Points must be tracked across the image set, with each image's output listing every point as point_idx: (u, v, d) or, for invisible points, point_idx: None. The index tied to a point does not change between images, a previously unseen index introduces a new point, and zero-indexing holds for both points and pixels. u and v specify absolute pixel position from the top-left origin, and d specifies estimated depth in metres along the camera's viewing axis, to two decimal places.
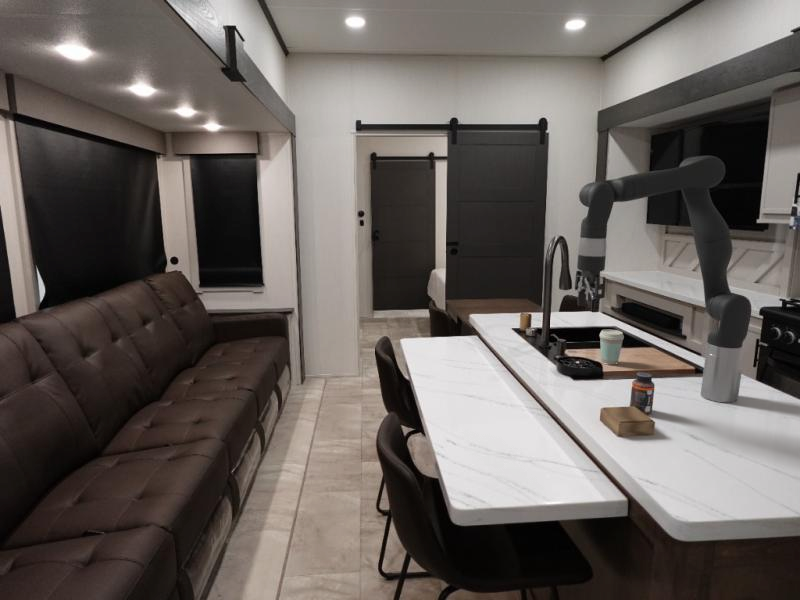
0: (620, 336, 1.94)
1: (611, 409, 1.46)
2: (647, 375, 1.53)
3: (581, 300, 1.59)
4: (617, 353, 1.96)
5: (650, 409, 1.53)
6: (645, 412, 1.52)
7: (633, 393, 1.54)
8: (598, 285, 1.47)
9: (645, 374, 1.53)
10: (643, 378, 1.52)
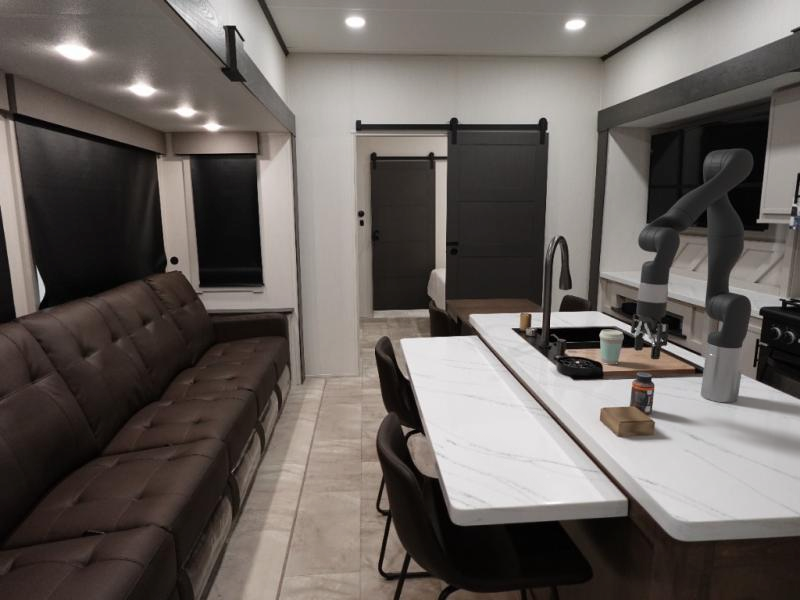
0: (620, 336, 1.94)
1: (611, 409, 1.46)
2: (647, 375, 1.52)
3: (638, 344, 1.55)
4: (617, 353, 1.96)
5: (650, 409, 1.53)
6: (645, 412, 1.52)
7: (633, 393, 1.54)
8: (661, 333, 1.44)
9: (645, 374, 1.53)
10: (643, 378, 1.52)
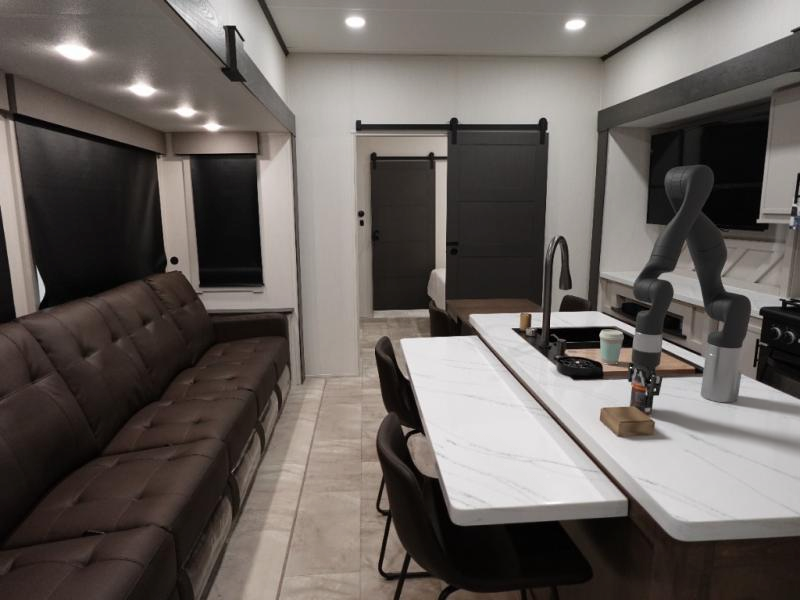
0: (620, 336, 1.94)
1: (611, 409, 1.46)
2: None
3: None
4: (617, 353, 1.96)
5: (650, 409, 1.53)
6: (645, 412, 1.52)
7: (633, 393, 1.54)
8: (654, 384, 1.47)
9: None
10: None
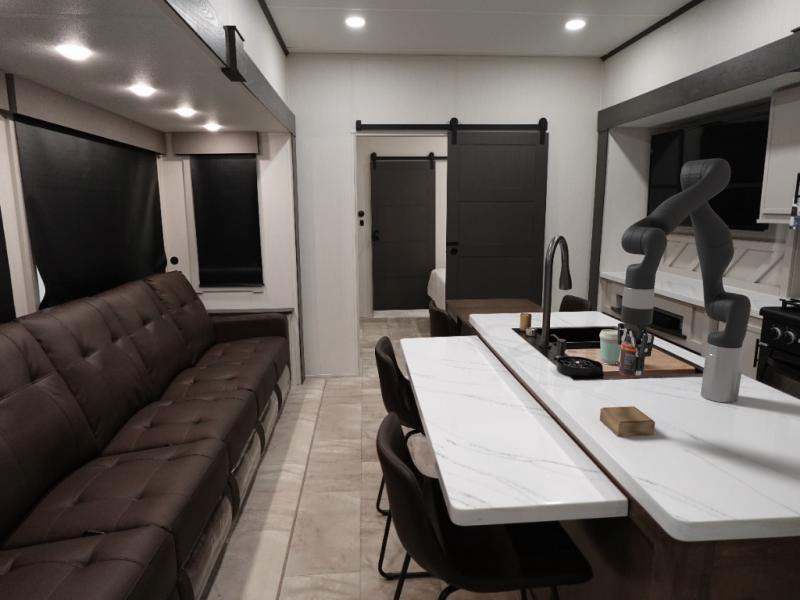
0: None
1: (611, 409, 1.46)
2: None
3: None
4: (617, 353, 1.96)
5: (641, 372, 1.39)
6: (635, 376, 1.39)
7: (622, 355, 1.40)
8: (645, 344, 1.33)
9: None
10: None
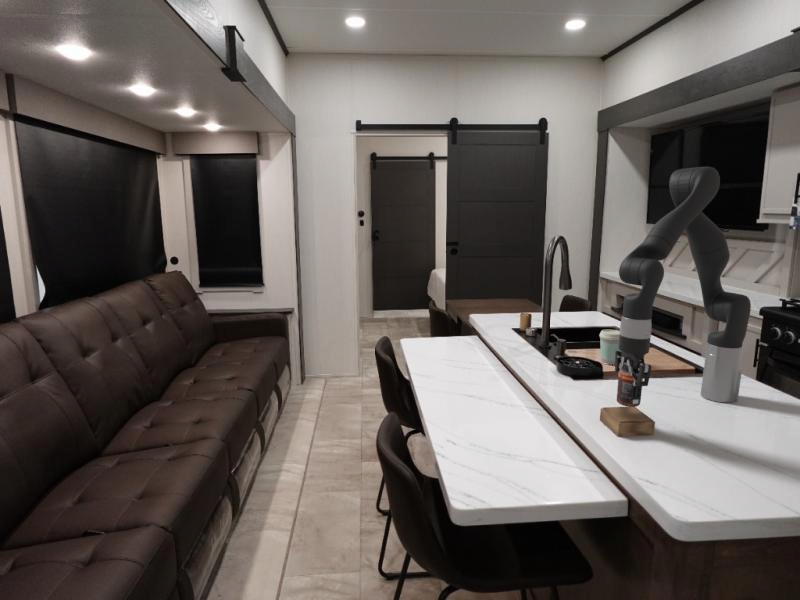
0: None
1: (611, 409, 1.46)
2: None
3: None
4: None
5: (638, 401, 1.41)
6: (633, 404, 1.40)
7: (620, 384, 1.42)
8: (642, 374, 1.35)
9: None
10: None
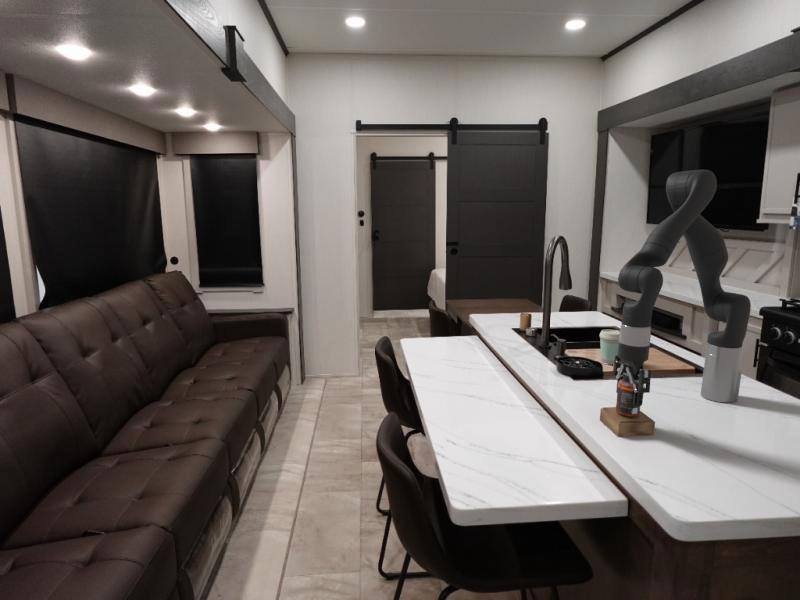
0: None
1: (611, 409, 1.46)
2: None
3: None
4: (617, 353, 1.96)
5: (637, 411, 1.41)
6: (632, 414, 1.41)
7: (619, 394, 1.42)
8: (643, 379, 1.35)
9: None
10: None
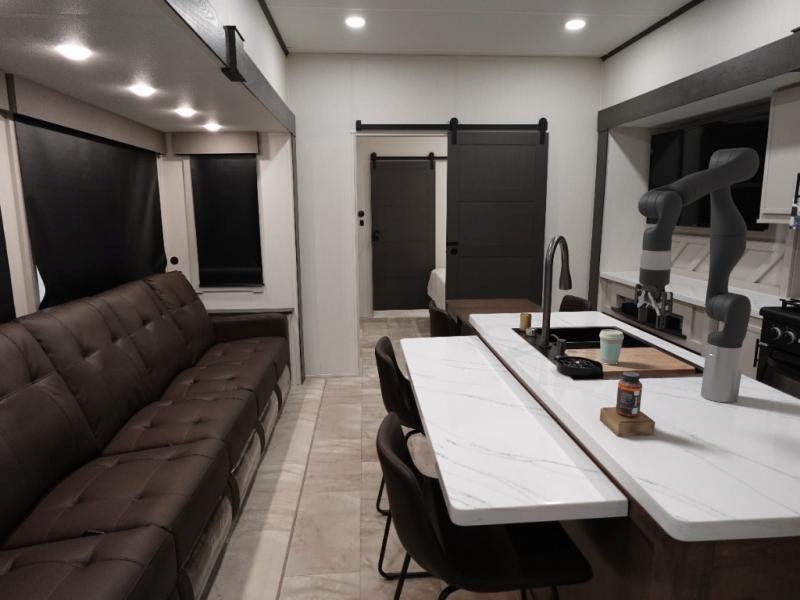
0: (620, 336, 1.94)
1: (611, 409, 1.46)
2: (634, 374, 1.41)
3: (642, 315, 1.50)
4: (617, 353, 1.96)
5: (637, 411, 1.41)
6: (632, 414, 1.41)
7: (619, 394, 1.42)
8: (665, 301, 1.38)
9: (632, 373, 1.42)
10: (630, 378, 1.40)
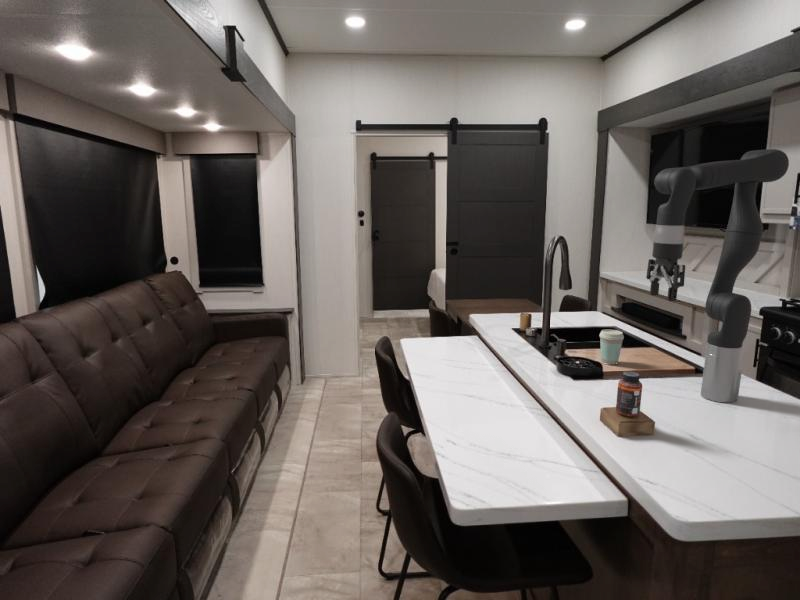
0: (620, 336, 1.94)
1: (611, 409, 1.46)
2: (634, 374, 1.41)
3: (654, 289, 1.56)
4: (617, 353, 1.96)
5: (637, 411, 1.41)
6: (632, 414, 1.41)
7: (619, 394, 1.42)
8: (677, 273, 1.44)
9: (632, 373, 1.42)
10: (630, 378, 1.40)
